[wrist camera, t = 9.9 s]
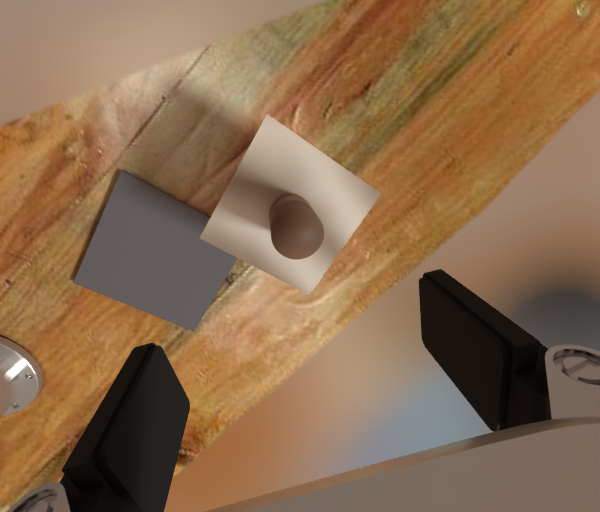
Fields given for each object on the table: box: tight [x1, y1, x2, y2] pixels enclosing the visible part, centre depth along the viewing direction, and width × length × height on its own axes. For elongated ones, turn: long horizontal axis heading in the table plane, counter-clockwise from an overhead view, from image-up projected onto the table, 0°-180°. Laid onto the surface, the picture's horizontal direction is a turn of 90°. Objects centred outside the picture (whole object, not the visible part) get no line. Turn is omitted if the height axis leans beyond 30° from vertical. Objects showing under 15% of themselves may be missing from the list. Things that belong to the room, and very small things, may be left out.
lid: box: [200, 114, 381, 294], centre depth 22 cm, size 11×11×6 cm
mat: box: [73, 170, 238, 331], centre depth 32 cm, size 14×14×1 cm
